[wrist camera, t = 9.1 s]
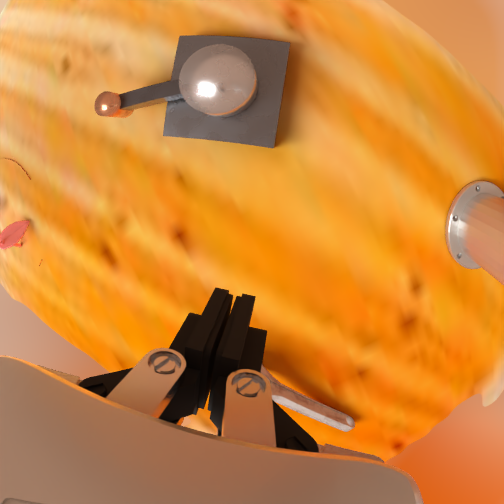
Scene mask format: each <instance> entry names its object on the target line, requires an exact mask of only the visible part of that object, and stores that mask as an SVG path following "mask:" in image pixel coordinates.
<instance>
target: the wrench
mask: <svg viewBox="0 0 504 504" xmlns="http://www.w3.org/2000/svg"><path fill="white" fill-rule="evenodd" d="M261 373H262V374H263V375H264V376H265V377H267V379H268V380H269V381H270V385H271V392H272V400H273V401H275V402H277V403H279V404H281V405H283V406H286V407H288V408H290V409H292V410H294V411H297V412H299V413H301V414H303V415H306V416H308V417H310V418H313V419H315V420H318V421H320V422H322V423H325V424H327V425H330V426H332V427H335V428H337V429H340V430H343V431H346V432H347V431H349V430H351V429H353V428H354V427H355V422H354V420H353V418H352V417H350V416H348V415H347V414H344V413H342V412H340V411H337V410H335V409H333V408H330V407H328V406H326V405H324V404H322V403H320V402H318V401H315V400H313V399H311V398H309V397H307V396H305V395H303V394H301V393H299V392H297V391H294V390H293V389H291V388H289V387H287V386H285V385H283V384H281V383H280V382H279V381H277V380H276V379H275V378H274V377H273V376H272V375H271V374H270V373H269V372H268V371H267V370H266V369H265V368H264V367H263V365H262V367H261Z"/></svg>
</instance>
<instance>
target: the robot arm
mask: <svg viewBox="0 0 504 504" xmlns="http://www.w3.org/2000/svg"><path fill="white" fill-rule="evenodd" d="M446 243H447V246H448V250H449V252H450V254H451V256H452V257H453V258H454V259H455V261H456V262H458V263H459V264H460V265H461V266H463V267H465V268H469V269H478V268H481V267H482V268H483V269H484V270H485V271H487V272H488V273H489V274H490V275H492V276H493V277H494V278H495V279H497V280H498V281H499V282H500V283H501V284H503V285H504V193H503V192H502V191H501V189H500V188H499V187H498V186H496V185H495V184H493V183H490V182H487V181H474V182H472V183H470V184H468V185H467V186H465V187H464V188H463V189H462V190H461V191H460V192H459V193H458V194H457V196H456V197H455V199H454V201H453V203H452V205H451V207H450V209H449V213H448V216H447V221H446ZM255 297H256V296H251V295H247V294H242V297H240V296H237V297H236V299H235V302H234V305H233V308H232V310H231V305H232V299H233V295H231V294H229V290H225V289H220V288H215V290H214V292H213V294H212V296H211V297H210V299H209V301H208V303H207V305H206V307H205V309H204V311H203V313H202V315H198V314H194V313H189V314H188V316H187V318H186V319H185V321H184V323H183V325H182V326H181V328H180V330H179V332H178V333H177V335H176V337H175V339H174V340H173V342H172V344H171V345H170V347H169V348H159V349H154V350H152V351H150V352H149V353H147V354H146V355H145V356H144V357H143V358H142V359H141V360H140V361H139V363H138V364H137V365H136V366H135V367H134V368H130V369H126V370H121V371H117V372H112V373H108V374H104V375H99V376H94V377H89V378H86V379H84V380H80V378H79V377H78V376H74V375H70V374H67V373H63V372H59V371H56V370H53V369H49V368H46V367H43V366H39V365H35V364H32V363H30V362H27V361H24V360H21V359H18V358H15V357H9V356H4V355H0V504H424V503H423V499H422V497H421V493H420V491H419V488H418V486H417V484H416V482H415V481H414V479H413V478H412V477H411V476H410V475H409V474H408V473H406V472H405V471H403V470H401V469H399V468H397V467H395V466H392V465H389V464H386V463H384V461H383V460H382V459H380V458H379V457H377V456H374V455H370V454H365V453H361V452H357V451H352V450H348V449H344V448H340V447H336V446H333V445H329V444H325V445H324V446H322V445H319V444H317V443H316V441H315V440H314V439H313V438H312V437H311V436H310V435H309V434H308V433H307V432H306V431H305V430H304V429H302V428H301V427H300V426H299V425H298V424H297V423H296V422H295V421H294V420H293V419H292V418H291V417H290V416H289V415H288V414H287V413H286V412H285V411H284V410H282V409H281V408H280V407H279V406H278V405H277V404H276V403H275V402H274V401H273V400H272V392H271V385H270V381H269V380H268V379H267V377H265V376H264V375H263V374H262V373H261V367H262V360H263V354H264V348H265V341H266V335H267V330H262V329H257V328H253V327H249V324H250V320H251V315H252V311H253V306H254V301H255ZM230 311H231V313H230ZM209 392H210V396H209V404H208V410H209V411H211V415H210V419H211V421H212V422H213V423H214V424H215V426H216V427H217V428H218V429H217V435H213V434H209V433H205V432H201V431H197V430H194V429H190V428H187V427H183V426H181V424H182V422H183V420H184V417H186V416H189V415H191V414H194V415H196V414H197V411H198V408H202V409H204V407H205V404H206V401H207V398H208V395H209Z"/></svg>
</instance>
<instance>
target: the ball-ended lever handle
mask: <svg viewBox="0 0 504 504" xmlns="http://www.w3.org/2000/svg"><path fill="white" fill-rule="evenodd" d="M257 90H258V79H257V76H256V73H255V70H254V67H253V64H252V62H251V60H250V59H249V57H248V56H247V55H246V54H245V53H244V52H243V51H241V50H240V49H238V48H236V47H233V46H230V45H225V44H215V45H210V46H206V47H203V48H201V49H199V50H198V51H196V52H195V53H193V54H192V55H191V56H190V57H189V58H188V59H187V60H186V62H185V63H184V65H183V67H182V69H181V72H180V76H179V79H176V80H172V81H167V82H163V83H159V84H155V85H151V86H147V87H144V88H140V89H137V90H133V91H130V92H126V93H123V94H117V93H112V92H103V93H101V94H100V95H99V96H98V97H97V99H96V101H95V111H96V113H97V114H98V115H100V116H109V117H121V118H126V117H128V116H130V115H131V114H132V112H133V111H134V109H138V108H142V107H146V106H150V105H154V104H158V103H163V102H167V101H172V100H177V99H182V98H184V100H185V101H186V102H187V103H188V104H189V105H190V106H191V107H193V108H194V109H196V110H198V111H200V112H203V113H206V114H208V115H211V116H214V117H231V116H234V115H237V114H239V113H241V112H242V111H244V110H245V109H247V108H248V107H249V106H250V105H251V103H252V102H253V100H254V99H255V97H256V94H257Z"/></svg>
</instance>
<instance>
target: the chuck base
mask: <svg viewBox="0 0 504 504" xmlns="http://www.w3.org/2000/svg"><path fill="white" fill-rule="evenodd" d="M215 44H225V45H230V46H233V47H236V48H238V49H240V50H241V51H243V52H244V53H245V54H246V55H247V56H248V57H249V59H250V60H251V62H252V64H253V67H254V70H255V73H256V76H257V79H258V90H257V94H256V97H255V99H254V100H253V102H252V103H251V105H250V106H249V107H248V108H247V109H245V110H244V111H242V112H241V113H239V114H237V115H234V116H231V117H214V116H211V115H208V114H206V113H203V112H200V111H198V110H196V109H194V108H193V107H191V106H190V105H189V104H188V103H187V102H186V101H185V100H184V98H182V99H177V100H172V101H168V103H167V110H166V117H165V124H164V132H163V136H172V137H185V138H196V139H207V140H216V141H225V142H233V143H241V144H248V145H255V146H262V147H268V148H274V145H275V139H276V132H277V126H278V120H279V114H280V107H281V101H282V95H283V88H284V82H285V75H286V69H287V63H288V56H289V49H290V43H288V42H281V41H274V40H266V39H256V38H245V37H231V36H180V37H179V42H178V47H177V51H176V56H175V62H174V67H173V72H172V78H171V81H172V80H176V79H179V76H180V72H181V69H182V67H183V65H184V63H185V62H186V60H187V59H188V58H189V57H190V56H191V55H192V54H193V53H195V52H196V51H198V50H199V49H201V48H203V47H206V46H210V45H215Z"/></svg>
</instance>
